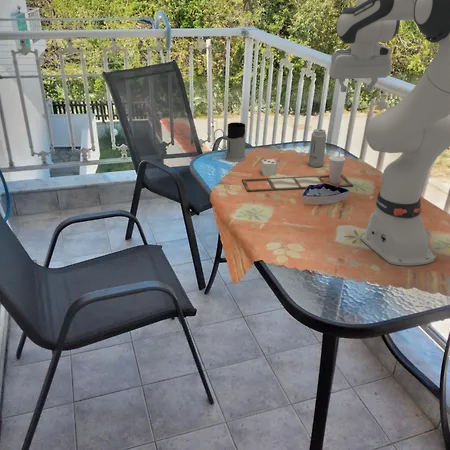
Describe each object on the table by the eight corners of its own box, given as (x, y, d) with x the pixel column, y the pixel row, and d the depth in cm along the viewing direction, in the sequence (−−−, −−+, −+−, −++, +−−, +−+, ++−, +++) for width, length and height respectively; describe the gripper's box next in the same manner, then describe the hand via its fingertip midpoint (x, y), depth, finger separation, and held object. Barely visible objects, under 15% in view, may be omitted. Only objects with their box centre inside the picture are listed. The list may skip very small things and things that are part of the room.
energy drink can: (305, 164, 199) (309, 129, 192) (317, 162, 201) (321, 127, 194) (313, 168, 194) (317, 133, 187) (325, 166, 196) (330, 131, 189)
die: (275, 175, 187) (276, 163, 185) (263, 175, 187) (264, 163, 184) (272, 170, 192) (273, 159, 189) (260, 171, 191) (261, 159, 189)
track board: (353, 186, 178) (353, 185, 178) (247, 192, 172) (247, 190, 172) (342, 175, 187) (342, 174, 187) (242, 180, 182) (242, 179, 182)
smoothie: (344, 185, 179) (349, 150, 172) (327, 184, 179) (331, 149, 172) (340, 178, 185) (345, 144, 178) (324, 178, 185) (328, 144, 178)
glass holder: (248, 161, 201) (249, 127, 194) (216, 163, 198) (216, 129, 191) (242, 154, 208) (243, 121, 201) (211, 157, 205) (211, 123, 198)
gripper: (336, 50, 148) (330, 94, 155) (396, 49, 151) (388, 92, 158) (329, 47, 153) (324, 89, 160) (387, 46, 156) (379, 88, 163)
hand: (356, 91), depth 159 cm, fingers open, 8 cm apart
